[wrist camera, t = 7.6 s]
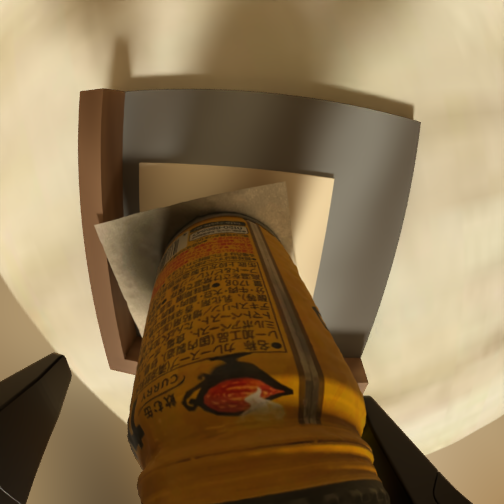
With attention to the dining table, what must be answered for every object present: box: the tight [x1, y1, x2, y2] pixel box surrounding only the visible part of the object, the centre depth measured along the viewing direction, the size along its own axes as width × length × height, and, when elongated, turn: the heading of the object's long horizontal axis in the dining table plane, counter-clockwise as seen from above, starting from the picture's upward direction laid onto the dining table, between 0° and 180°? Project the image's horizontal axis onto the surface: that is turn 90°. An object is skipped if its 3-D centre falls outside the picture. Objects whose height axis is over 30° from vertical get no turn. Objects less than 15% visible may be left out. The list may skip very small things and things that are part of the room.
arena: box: [78, 89, 421, 394], centre depth 14 cm, size 15×15×3 cm
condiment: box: [94, 181, 390, 504], centre depth 9 cm, size 7×8×12 cm
